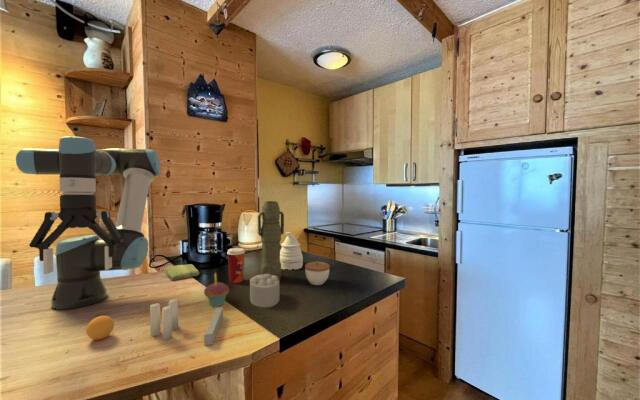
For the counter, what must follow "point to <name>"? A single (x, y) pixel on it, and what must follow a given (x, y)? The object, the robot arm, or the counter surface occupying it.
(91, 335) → the ball
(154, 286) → the counter surface
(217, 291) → the cupcake
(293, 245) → the honey pot
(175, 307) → the pin
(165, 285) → the counter surface
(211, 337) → the white long bar
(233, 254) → the paper cup
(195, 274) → the washcloth
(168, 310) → the pin
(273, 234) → the thermos
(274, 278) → the lumpy-topped squat cylinder
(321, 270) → the lidded jar
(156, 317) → the front pin
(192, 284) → the counter surface
